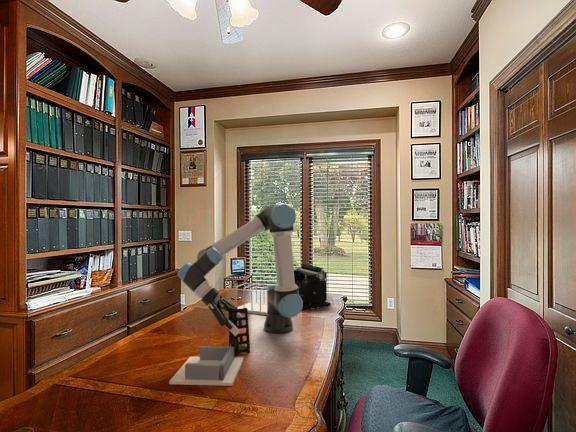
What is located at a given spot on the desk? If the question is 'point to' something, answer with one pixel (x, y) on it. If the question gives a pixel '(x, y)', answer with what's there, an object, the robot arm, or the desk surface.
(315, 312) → the desk surface
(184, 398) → the desk surface
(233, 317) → the holder
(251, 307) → the file sorter
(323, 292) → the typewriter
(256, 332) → the desk surface
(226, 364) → the bay
